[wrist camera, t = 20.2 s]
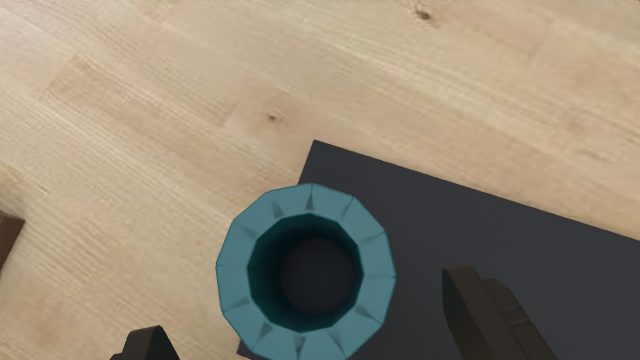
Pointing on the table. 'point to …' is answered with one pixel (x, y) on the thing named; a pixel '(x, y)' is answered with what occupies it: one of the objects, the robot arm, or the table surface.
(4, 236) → the ring toss
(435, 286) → the mat
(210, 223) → the table surface
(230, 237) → the teal hollow cylinder
